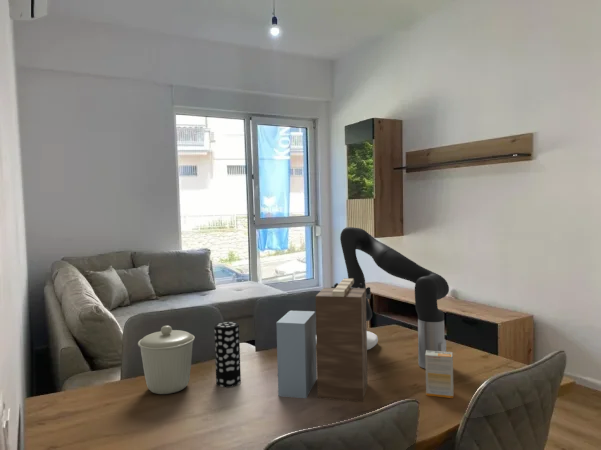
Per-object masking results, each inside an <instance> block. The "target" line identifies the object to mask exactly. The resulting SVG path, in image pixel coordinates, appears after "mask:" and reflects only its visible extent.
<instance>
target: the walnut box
mask: <svg viewBox="0 0 601 450" xmlns="http://www.w3.org/2000/svg"><path fill="white" fill-rule="evenodd" d="M334 289H335V288H331V287H323V288H322V289H321V290H320V291H319V292H318V293H316V295H315V321H316V340H317V344H316V366H317V379H316V381H317V383H316V384H317V399H326V400H334V401H335V400H337V401H349V402H362V403H363V402H364V398H365V394H366V392H367V387H368V350H367V331H368V330H367V327H368V326H367V321H366V289H363V288H350V289H349V290H348V292H347V293H346V294H345V296H344V297H332V291H333V290H334Z"/></svg>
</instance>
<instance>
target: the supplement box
mask: <svg viewBox="0 0 601 450" xmlns="http://www.w3.org/2000/svg"><path fill="white" fill-rule="evenodd" d="M453 353H454V352H452V351H446V352H443V351H429V350H426V354H425V367H426V369H425V394H426V396H427V397H438V398H447V399H454V361H453V360H454V358H453V357H454V355H453Z"/></svg>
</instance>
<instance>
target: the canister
mask: <svg viewBox="0 0 601 450" xmlns="http://www.w3.org/2000/svg"><path fill="white" fill-rule="evenodd" d="M194 341H195V335H194V334H192V333H190V332H188V331H185V330H181V329H180V330H179V329H178V330H177V329H173V328H172V326H170V325H162V327H161V328H160V331H155V332H152V333H150V334H147V335H145V336H143V338H141V339H139V340H138V342H137V346H138V347H139V348H140V355H141V360H142V368H143V373H144V378H145V382H146V386H147V389H148V390H149V391H150V392H151V393H153V394H158V395H169V394H173V393H179V392H180V391H182V390H184V389H185V388H186V387H187V386H188V384H189V382H190V376H191V368H192V356H193V345H194V344H193V343H194Z"/></svg>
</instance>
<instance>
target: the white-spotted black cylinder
mask: <svg viewBox="0 0 601 450" xmlns="http://www.w3.org/2000/svg"><path fill="white" fill-rule="evenodd" d="M213 328H214V329H213V330H214V357H215V359H214V360H215V384H216V386H218V387H221V388H231V387H235V386H237V385H240V384H241V382H242V380H241V379H242V377H241V376H242V375H241V349H240V348H241V345H240V343H241V341H240V323H239V322H237V321H228V320H227V321H221V322H217V323H214V326H213Z"/></svg>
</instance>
